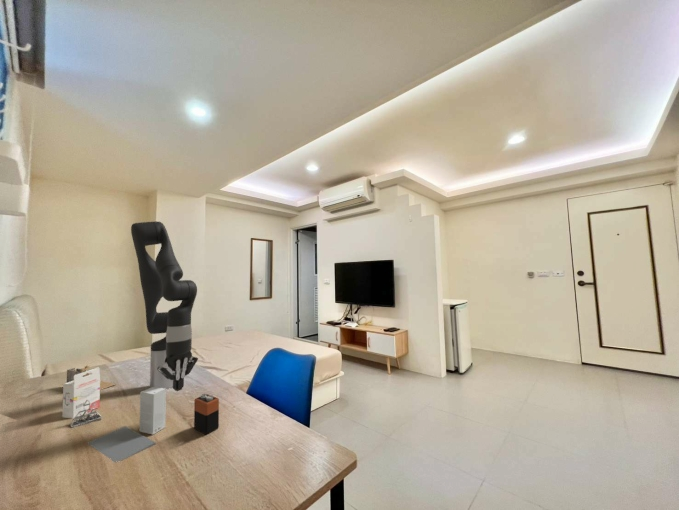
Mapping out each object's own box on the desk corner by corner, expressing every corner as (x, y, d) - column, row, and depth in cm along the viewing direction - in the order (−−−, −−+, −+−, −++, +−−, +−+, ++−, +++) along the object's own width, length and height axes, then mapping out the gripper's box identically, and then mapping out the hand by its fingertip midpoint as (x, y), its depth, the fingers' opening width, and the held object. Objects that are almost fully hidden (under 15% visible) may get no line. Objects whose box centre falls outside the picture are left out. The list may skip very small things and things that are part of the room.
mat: (124, 428, 83) (125, 426, 83) (155, 444, 74) (155, 442, 74) (68, 453, 71) (68, 451, 72) (96, 476, 63) (96, 473, 63)
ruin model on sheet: (116, 384, 119) (116, 362, 119) (68, 401, 103) (69, 375, 104) (84, 377, 128) (85, 357, 129) (36, 392, 113) (37, 368, 113)
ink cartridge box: (89, 406, 98) (91, 365, 99) (100, 407, 97) (101, 366, 98) (61, 418, 89) (63, 374, 90) (72, 420, 88) (74, 375, 89)
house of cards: (104, 410, 95) (105, 389, 95) (108, 419, 89) (109, 396, 90) (69, 421, 88) (70, 398, 89) (70, 431, 82) (71, 406, 83)
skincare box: (166, 427, 83) (166, 388, 84) (152, 435, 79) (153, 394, 79) (152, 424, 85) (153, 386, 85) (138, 431, 81) (139, 391, 81)
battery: (206, 435, 78) (206, 400, 79) (193, 429, 81) (193, 395, 82) (219, 428, 82) (219, 395, 82) (206, 422, 85) (207, 390, 86)
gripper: (191, 333, 98) (190, 381, 97) (152, 341, 86) (150, 396, 85) (203, 335, 94) (203, 384, 93) (164, 344, 83) (163, 400, 81)
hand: (178, 390), depth 89 cm, fingers closed
